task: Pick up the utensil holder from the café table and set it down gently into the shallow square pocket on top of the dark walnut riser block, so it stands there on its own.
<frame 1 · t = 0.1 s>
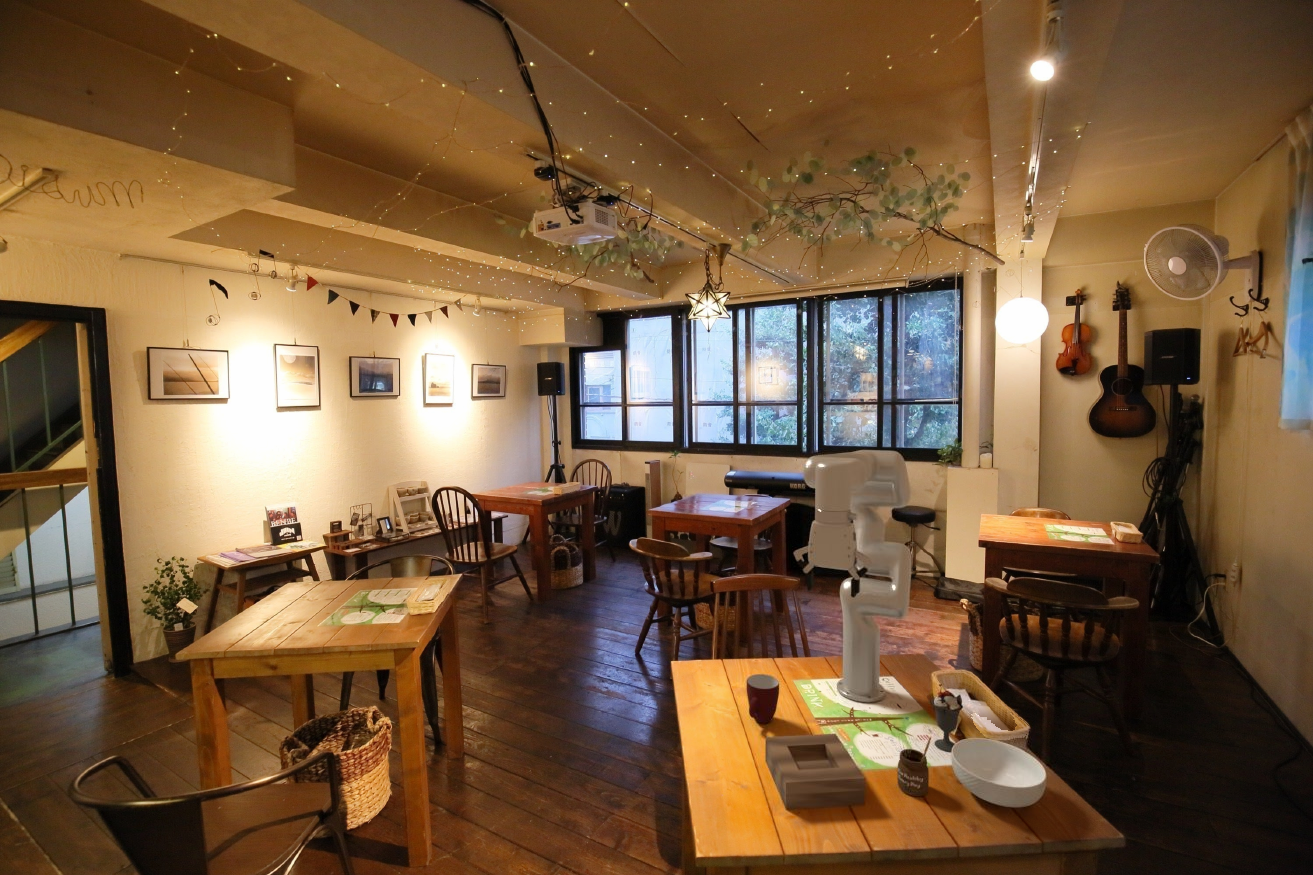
hand: (831, 592, 135), 37 cm above the table, tool pointing down, fingers open, 9 cm apart
cereal bowl: (996, 794, 123), on the table
walnut riser: (812, 781, 127), on the table
utensil holder: (913, 789, 125), on the table
sundae: (946, 746, 140), on the table
mug: (761, 722, 151), on the table
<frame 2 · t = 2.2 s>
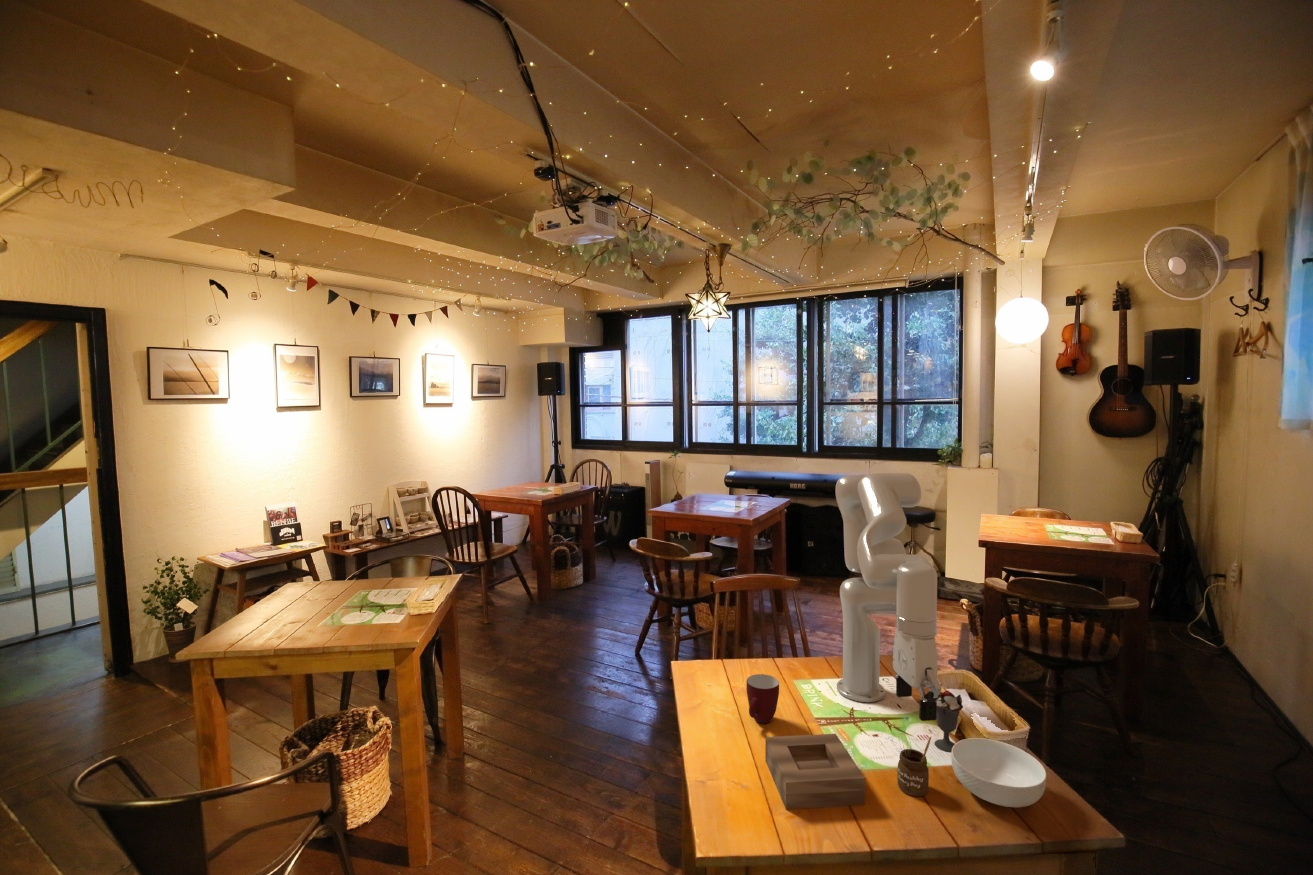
hand: (915, 707, 123), 17 cm above the table, tool pointing down, fingers open, 9 cm apart
nothing on the table moved.
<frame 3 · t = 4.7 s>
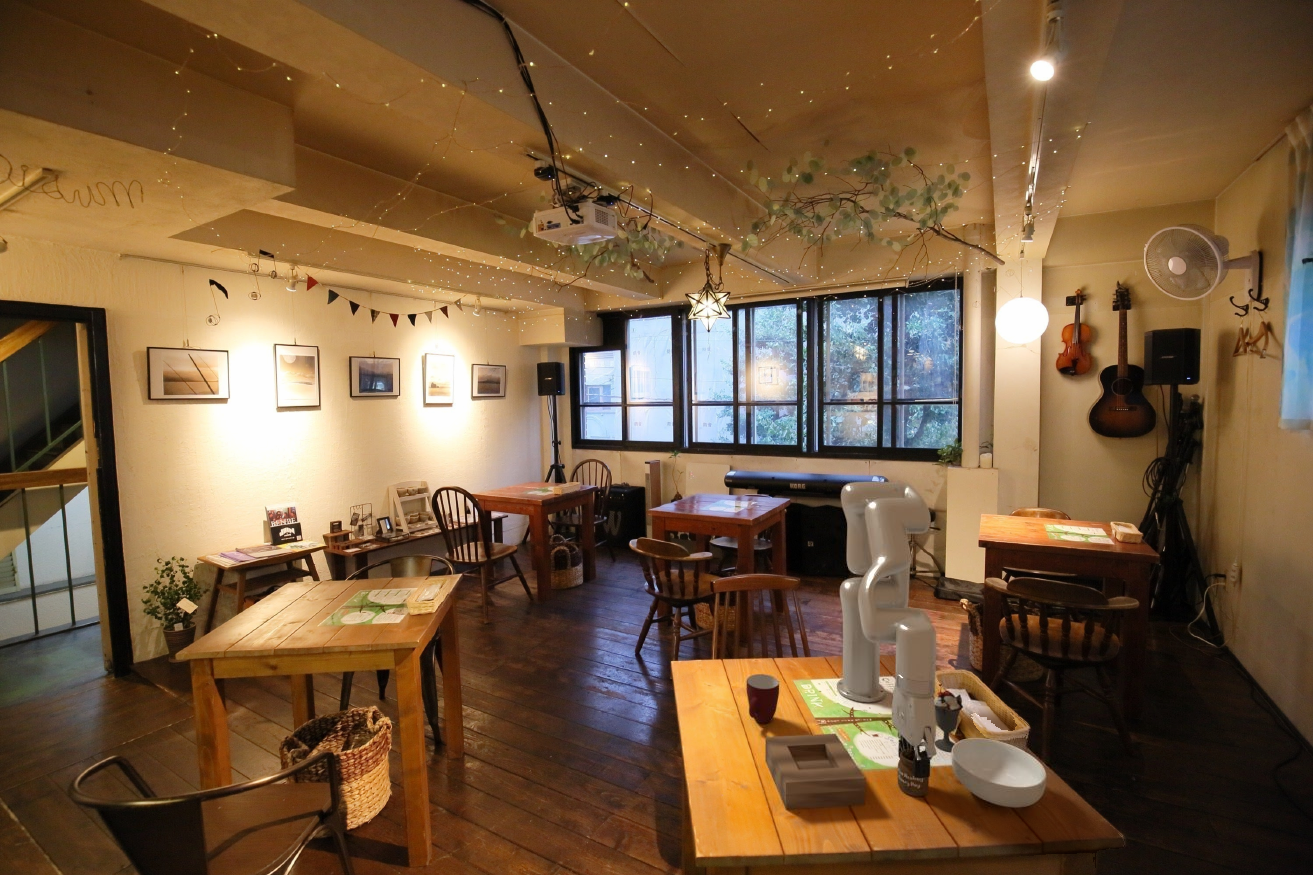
hand: (913, 766, 124), 5 cm above the table, tool pointing down, fingers closed on utensil holder, 5 cm apart
utensil holder: (913, 789, 125), on the table, touching gripper
everything else where it was.
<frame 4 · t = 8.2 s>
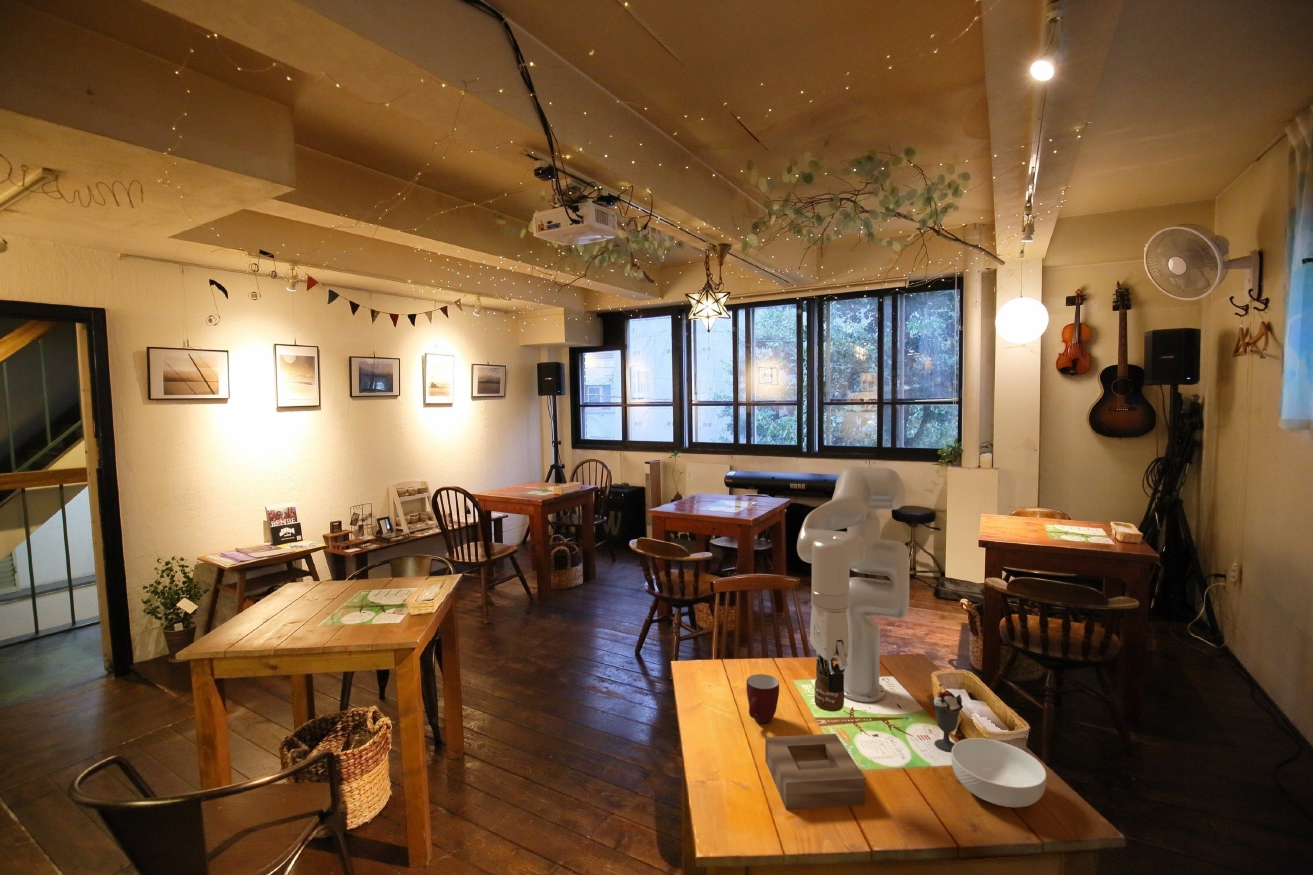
hand: (829, 683, 126), 21 cm above the table, tool pointing down, fingers closed on utensil holder, 5 cm apart
utensil holder: (829, 706, 126), point 17 cm above the table, touching gripper
everything else where it was.
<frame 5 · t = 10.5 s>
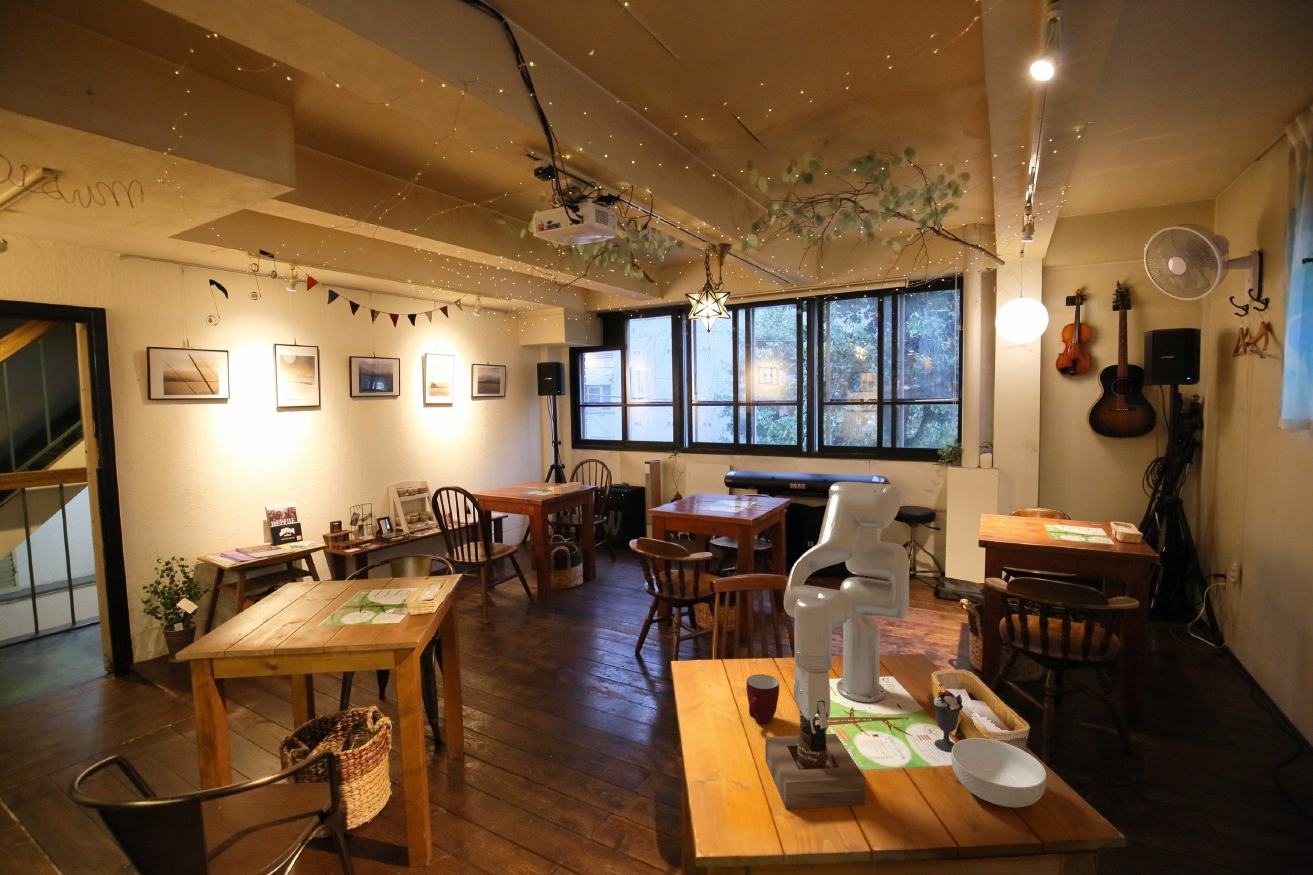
hand: (812, 740, 127), 9 cm above the table, tool pointing down, fingers closed on utensil holder, 5 cm apart
utensil holder: (812, 763, 127), point 4 cm above the table, touching gripper
everything else where it was.
when the fingers open (8 cm above the table, at t = 12.2 s): utensil holder stays where it is, resting on walnut riser.
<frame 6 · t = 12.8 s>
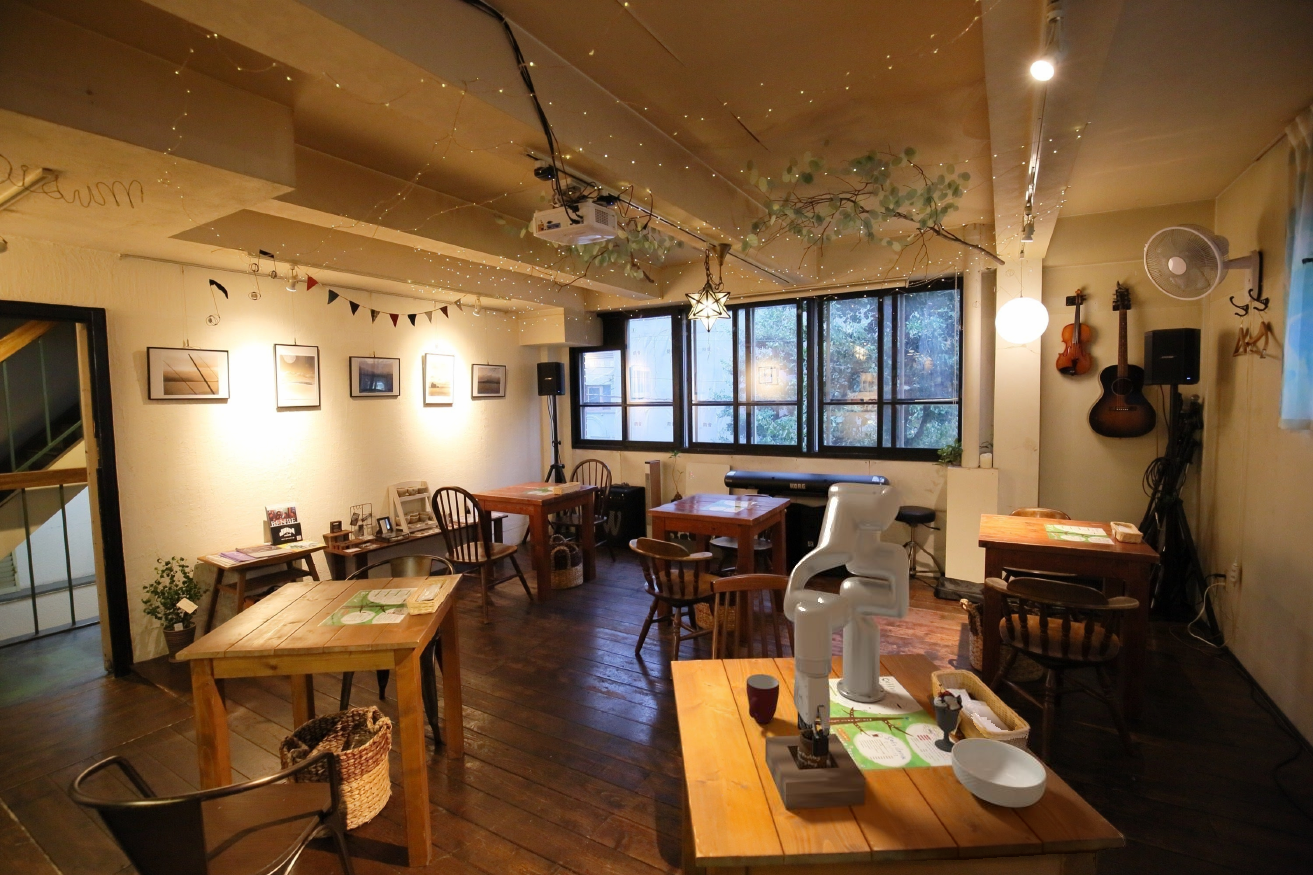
hand: (812, 741, 127), 9 cm above the table, tool pointing down, fingers open, 9 cm apart
utensil holder: (812, 768, 127), point 3 cm above the table, touching walnut riser
everything else where it was.
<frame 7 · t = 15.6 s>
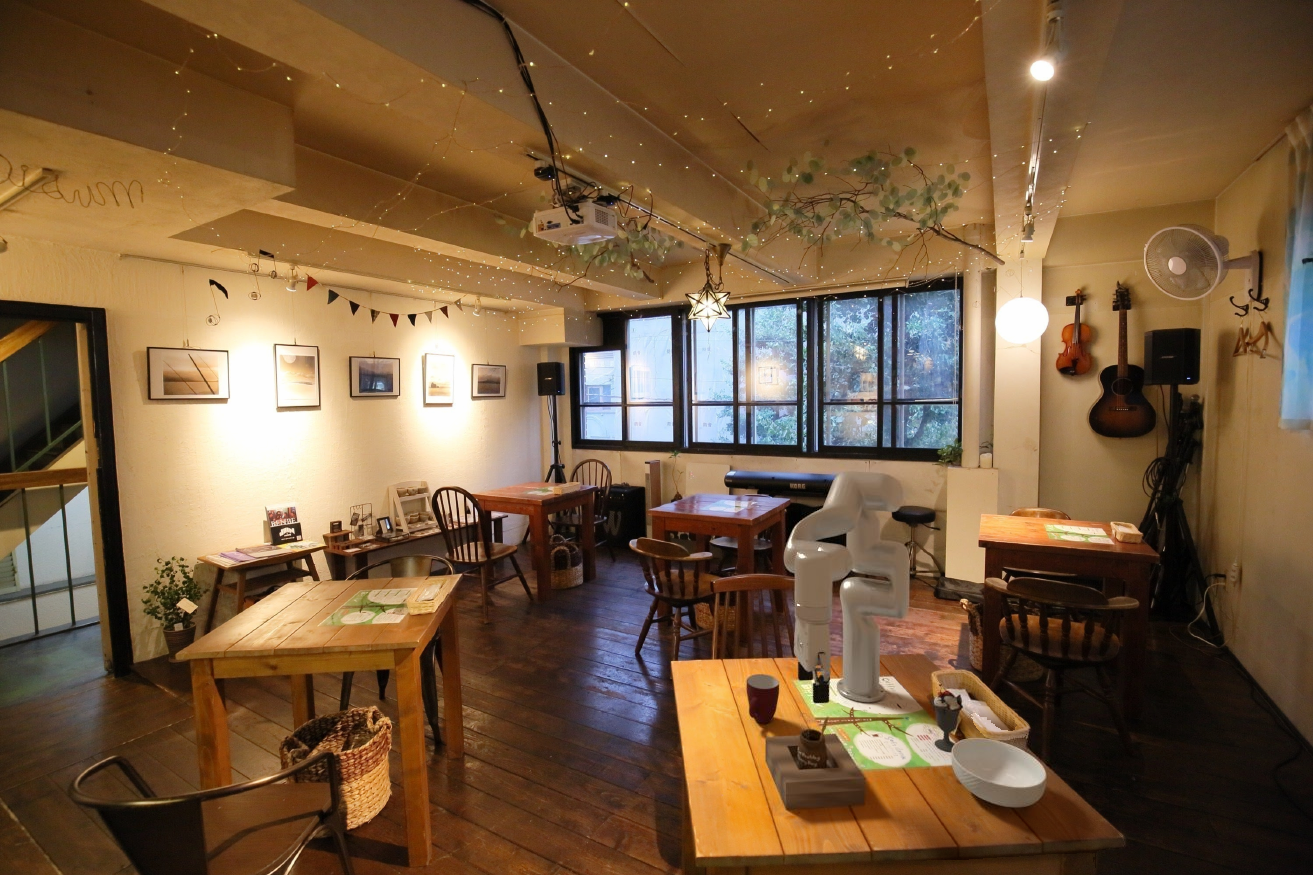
hand: (812, 690, 126), 20 cm above the table, tool pointing down, fingers open, 9 cm apart
nothing on the table moved.
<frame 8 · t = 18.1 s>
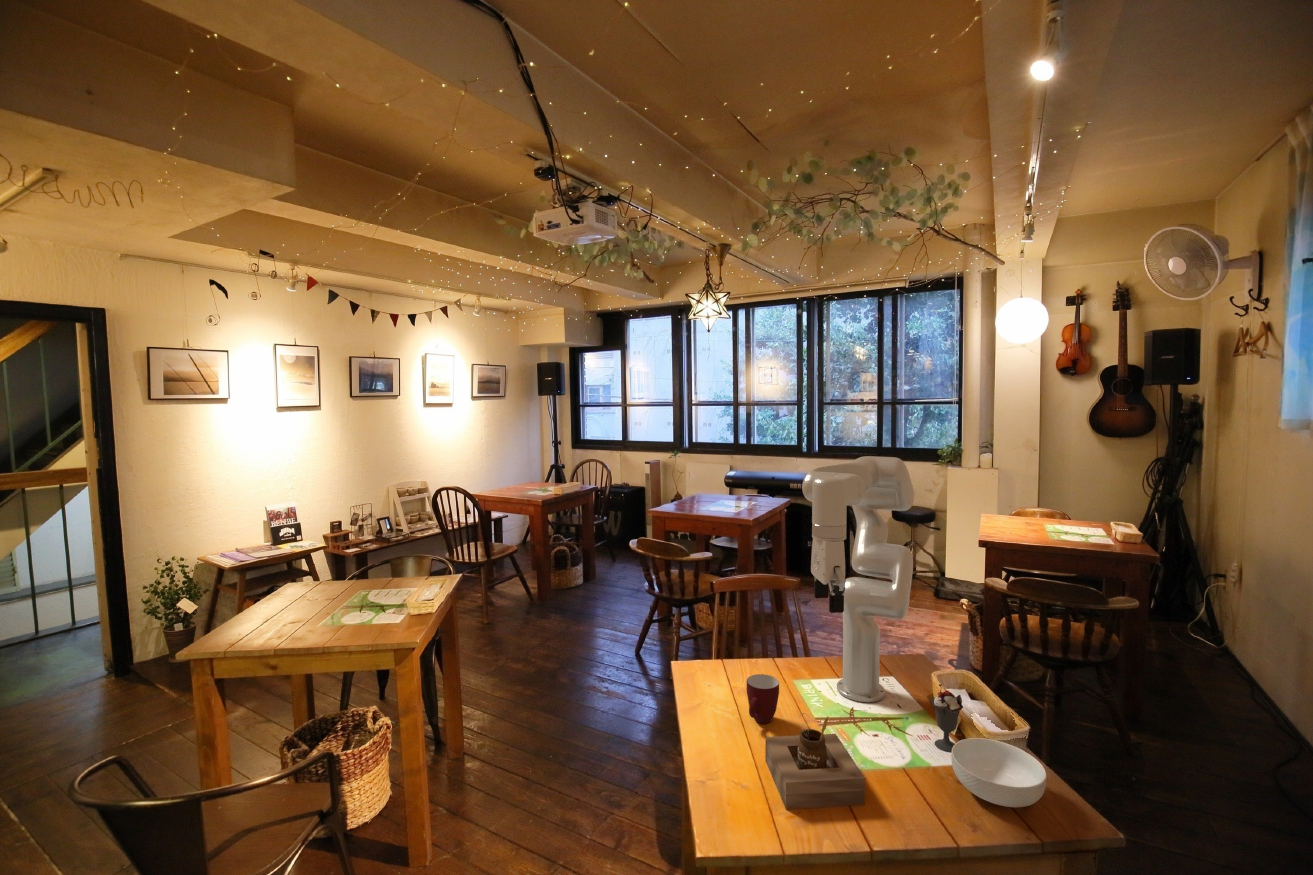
hand: (828, 604, 139), 33 cm above the table, tool pointing down, fingers open, 9 cm apart
nothing on the table moved.
at the end: utensil holder 0.1 cm off-centre on the walnut riser, point 2.8 cm above the walnut riser's base; utensil holder tilted 0°; utensil holder touching walnut riser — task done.
